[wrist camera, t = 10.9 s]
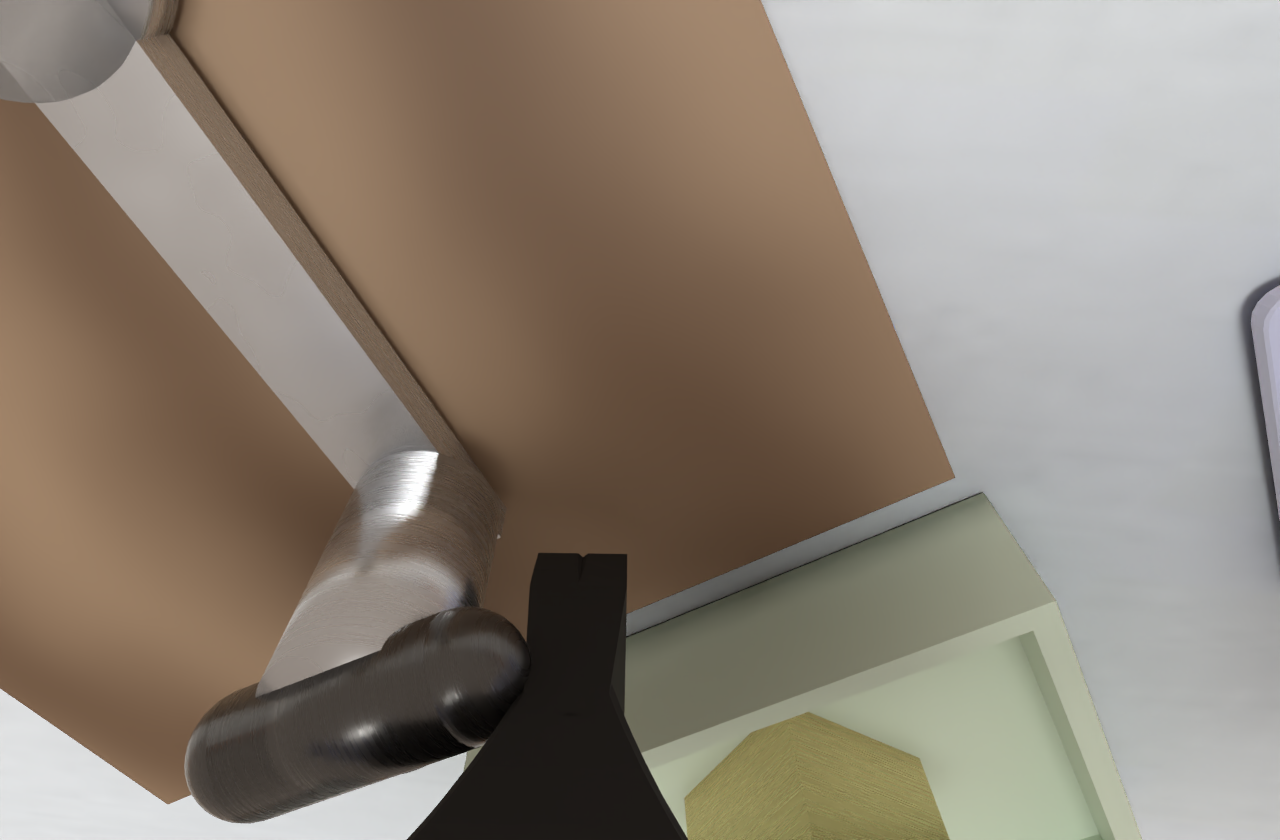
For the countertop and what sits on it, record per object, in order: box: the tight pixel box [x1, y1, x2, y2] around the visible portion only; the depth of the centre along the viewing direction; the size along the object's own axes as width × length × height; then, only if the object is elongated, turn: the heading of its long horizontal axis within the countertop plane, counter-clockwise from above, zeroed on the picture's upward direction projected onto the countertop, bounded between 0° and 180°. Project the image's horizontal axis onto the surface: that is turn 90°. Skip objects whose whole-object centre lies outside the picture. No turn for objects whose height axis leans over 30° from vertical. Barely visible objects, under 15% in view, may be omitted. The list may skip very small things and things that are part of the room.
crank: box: [0, 0, 532, 823], centre depth 9 cm, size 12×5×6 cm, turn 25°
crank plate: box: [0, 0, 955, 804], centre depth 12 cm, size 19×18×1 cm
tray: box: [464, 493, 1142, 840], centre depth 18 cm, size 12×12×3 cm
